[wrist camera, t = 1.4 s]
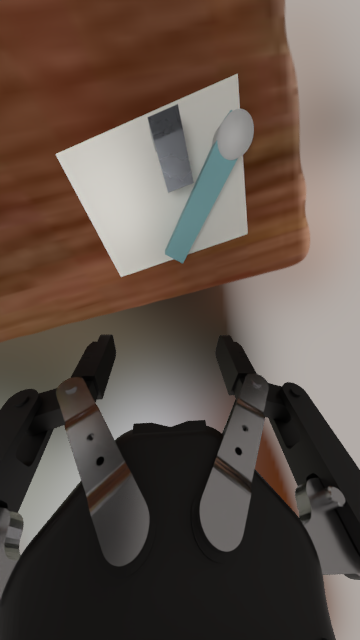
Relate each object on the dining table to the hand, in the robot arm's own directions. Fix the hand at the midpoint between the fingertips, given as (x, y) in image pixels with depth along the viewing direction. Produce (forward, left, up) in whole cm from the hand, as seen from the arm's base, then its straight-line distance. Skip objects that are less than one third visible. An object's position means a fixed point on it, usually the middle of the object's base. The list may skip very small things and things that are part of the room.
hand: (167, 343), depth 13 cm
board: (-8, -4, -21) cm, 23 cm away
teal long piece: (-10, 0, -19) cm, 22 cm away
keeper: (-12, -5, -19) cm, 23 cm away
